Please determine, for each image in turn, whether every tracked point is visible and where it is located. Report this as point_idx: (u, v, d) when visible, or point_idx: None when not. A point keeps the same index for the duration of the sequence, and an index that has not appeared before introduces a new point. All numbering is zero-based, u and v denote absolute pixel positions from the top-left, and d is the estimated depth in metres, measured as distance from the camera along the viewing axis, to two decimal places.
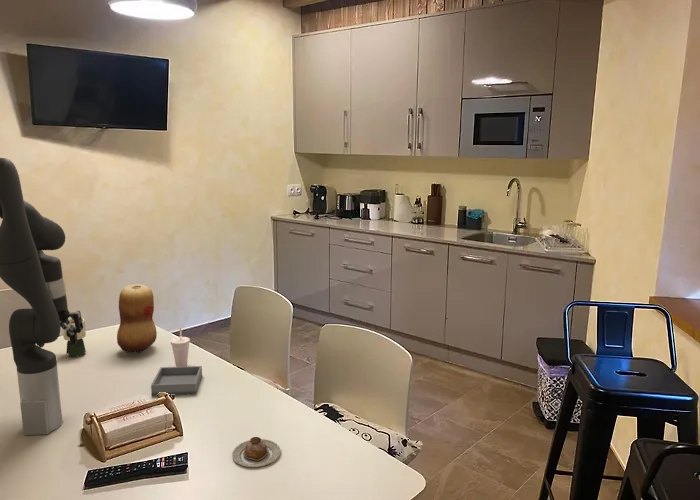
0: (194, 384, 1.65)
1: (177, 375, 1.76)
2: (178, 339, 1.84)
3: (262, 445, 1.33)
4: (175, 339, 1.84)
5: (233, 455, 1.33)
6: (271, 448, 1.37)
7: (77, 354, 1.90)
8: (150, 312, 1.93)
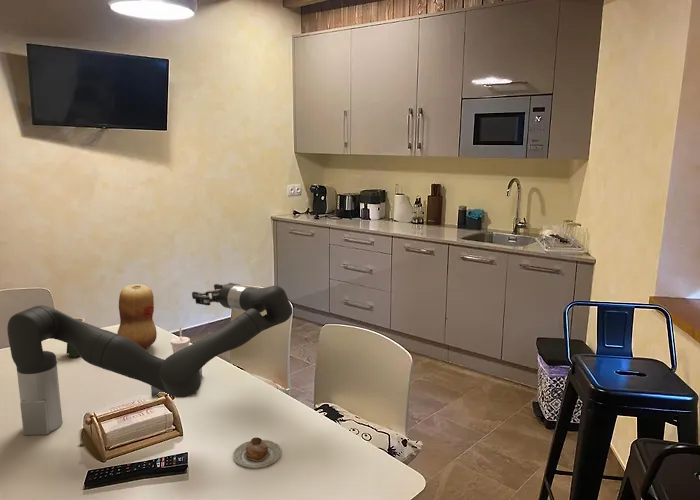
0: None
1: None
2: (178, 339, 1.84)
3: (263, 446, 1.33)
4: (175, 339, 1.84)
5: (234, 456, 1.33)
6: (272, 449, 1.37)
7: (77, 354, 1.90)
8: (150, 312, 1.93)
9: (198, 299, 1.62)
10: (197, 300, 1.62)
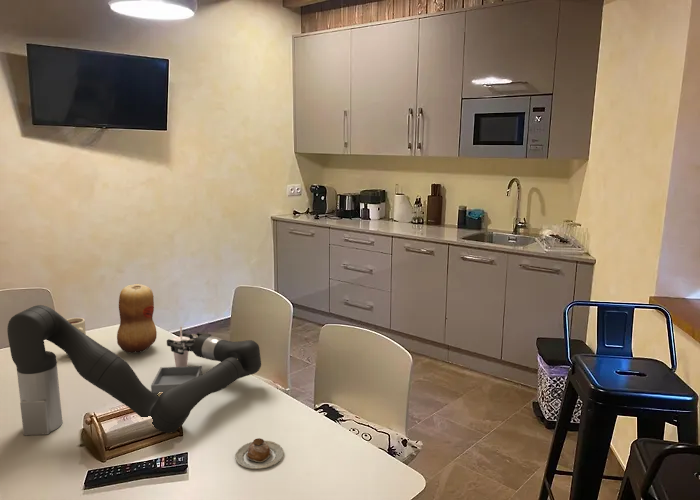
0: None
1: (177, 375, 1.76)
2: (178, 338, 1.84)
3: (265, 447, 1.33)
4: (175, 339, 1.84)
5: (236, 457, 1.32)
6: (274, 449, 1.36)
7: None
8: (150, 312, 1.93)
9: (174, 347, 1.78)
10: (172, 348, 1.77)
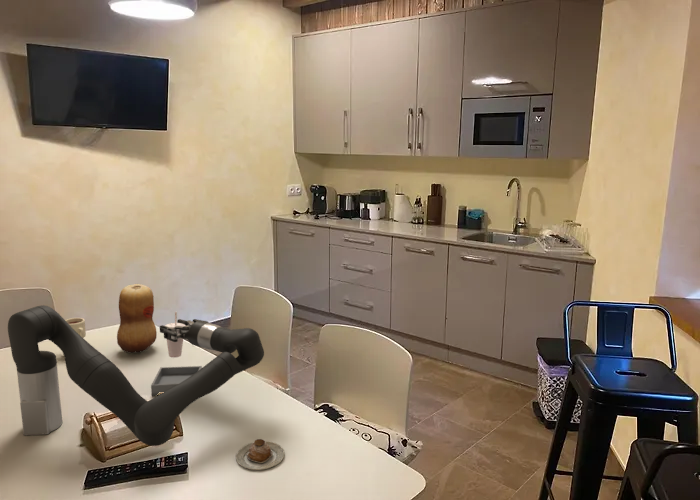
0: None
1: (177, 375, 1.76)
2: (173, 325, 1.67)
3: (266, 447, 1.33)
4: (169, 325, 1.68)
5: (237, 458, 1.32)
6: (275, 450, 1.36)
7: None
8: (150, 312, 1.93)
9: (167, 334, 1.61)
10: (165, 335, 1.61)
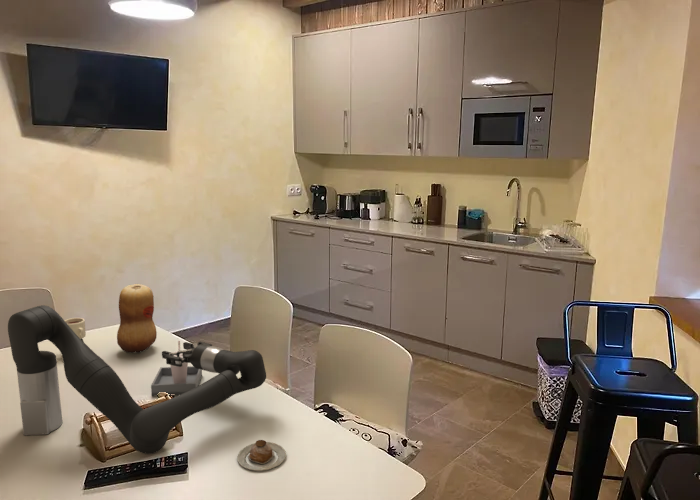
0: (194, 384, 1.65)
1: None
2: None
3: (267, 448, 1.32)
4: None
5: (238, 458, 1.32)
6: (276, 451, 1.36)
7: None
8: (150, 312, 1.93)
9: (169, 359, 1.61)
10: (168, 361, 1.61)
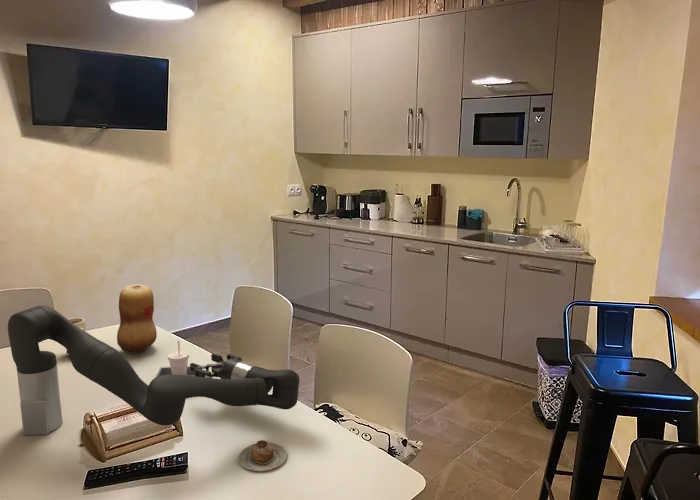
0: None
1: None
2: (176, 354, 1.68)
3: (268, 449, 1.32)
4: (173, 354, 1.69)
5: (239, 459, 1.31)
6: (277, 451, 1.36)
7: None
8: (150, 312, 1.93)
9: (198, 373, 1.55)
10: (197, 374, 1.55)
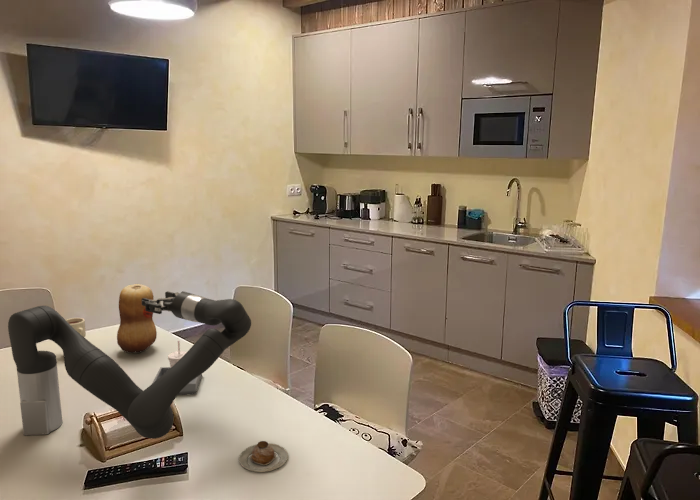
0: (194, 384, 1.65)
1: None
2: (176, 354, 1.68)
3: (269, 449, 1.32)
4: (173, 354, 1.69)
5: (240, 460, 1.31)
6: (278, 452, 1.35)
7: None
8: (150, 312, 1.93)
9: (148, 306, 1.53)
10: (147, 307, 1.53)
